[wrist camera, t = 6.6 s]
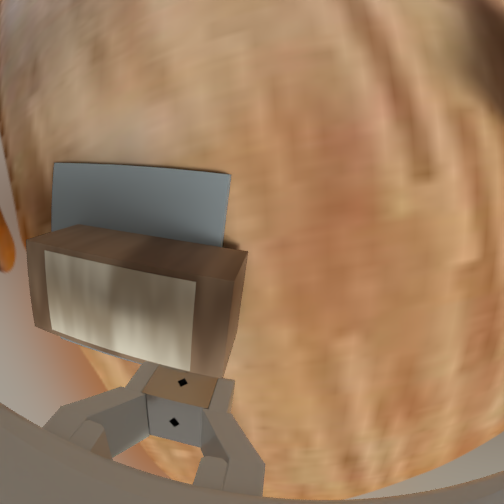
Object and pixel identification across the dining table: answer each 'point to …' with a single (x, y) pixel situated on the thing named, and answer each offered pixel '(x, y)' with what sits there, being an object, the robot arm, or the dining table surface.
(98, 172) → the mat
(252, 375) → the dining table surface
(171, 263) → the walnut block
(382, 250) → the dining table surface
